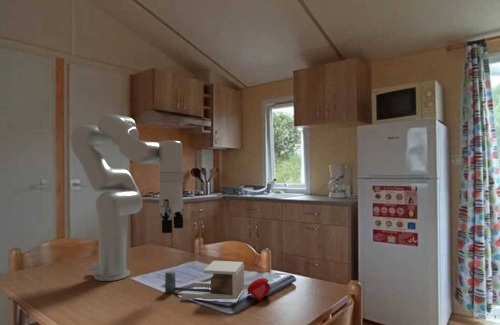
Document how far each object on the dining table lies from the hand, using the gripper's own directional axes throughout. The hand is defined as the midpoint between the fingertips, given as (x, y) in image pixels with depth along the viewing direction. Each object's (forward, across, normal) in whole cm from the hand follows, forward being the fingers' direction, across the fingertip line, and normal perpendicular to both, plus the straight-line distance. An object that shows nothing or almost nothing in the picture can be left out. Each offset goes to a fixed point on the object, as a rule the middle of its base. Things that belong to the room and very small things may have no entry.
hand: (173, 230), depth 115 cm
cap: (+21, +2, +28) cm, 35 cm away
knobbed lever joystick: (+20, +1, +9) cm, 22 cm away
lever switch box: (+20, +2, +13) cm, 24 cm away
